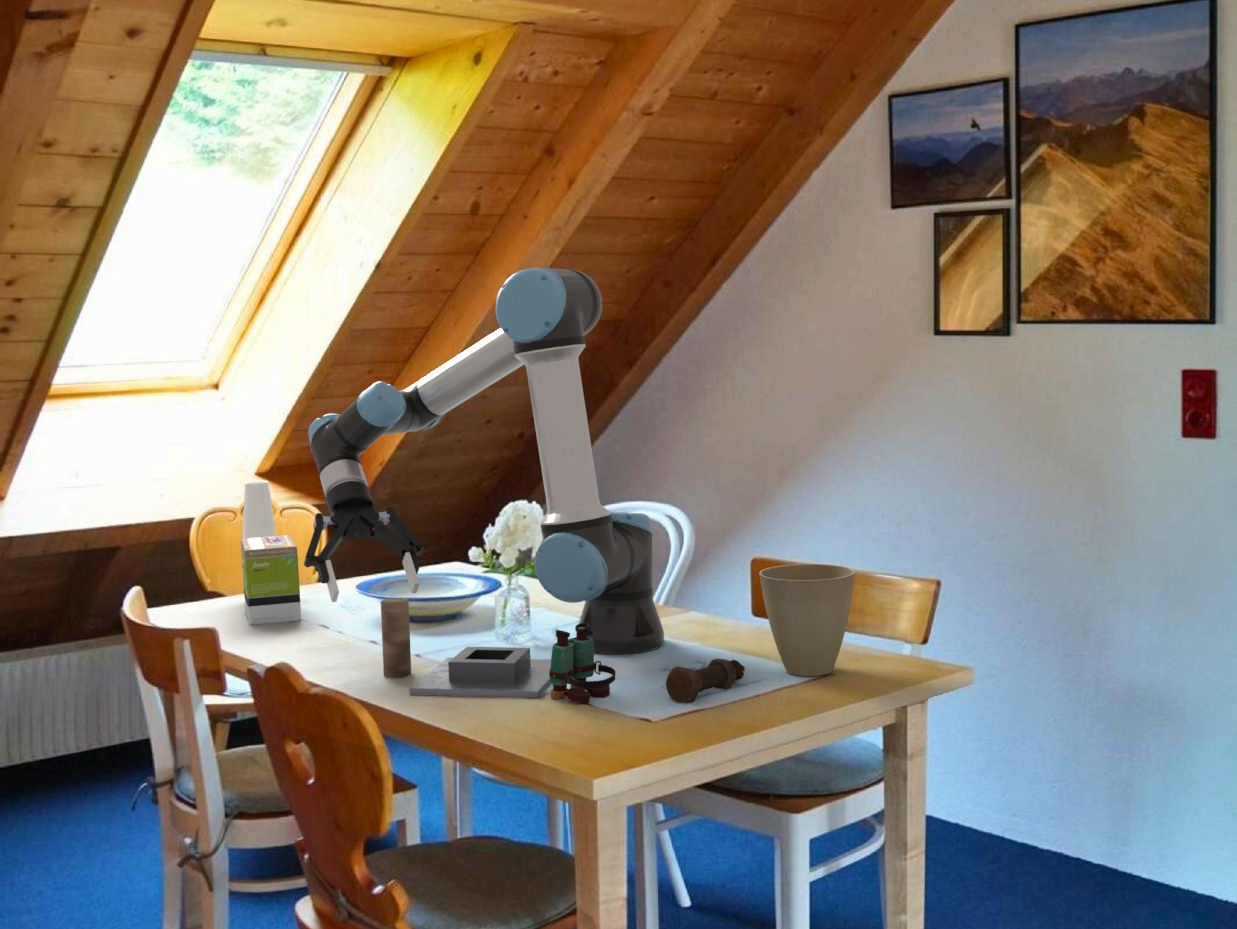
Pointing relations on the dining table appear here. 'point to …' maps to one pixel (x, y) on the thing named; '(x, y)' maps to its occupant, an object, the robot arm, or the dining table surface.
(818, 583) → the plant pot
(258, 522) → the grey tapered column
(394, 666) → the peg
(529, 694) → the socket
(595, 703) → the dining table surface
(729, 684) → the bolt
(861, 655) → the dining table surface
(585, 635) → the binoculars
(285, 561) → the tea box
